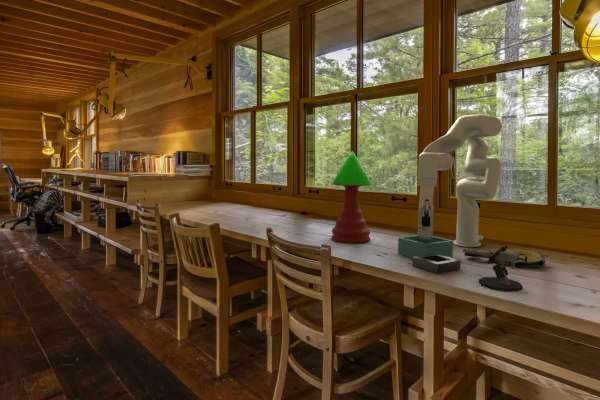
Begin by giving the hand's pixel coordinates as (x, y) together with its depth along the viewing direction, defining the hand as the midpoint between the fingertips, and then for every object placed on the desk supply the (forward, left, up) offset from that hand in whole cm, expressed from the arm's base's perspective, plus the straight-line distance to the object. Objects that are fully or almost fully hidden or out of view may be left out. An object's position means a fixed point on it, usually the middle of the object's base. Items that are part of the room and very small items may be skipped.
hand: (425, 224), depth 163 cm
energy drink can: (0, 0, -6) cm, 6 cm away
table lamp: (+8, -42, -13) cm, 45 cm away
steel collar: (+11, +16, -13) cm, 23 cm away
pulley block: (-20, +23, -14) cm, 33 cm away
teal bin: (0, 0, -13) cm, 13 cm away
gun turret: (+9, +37, -13) cm, 41 cm away
